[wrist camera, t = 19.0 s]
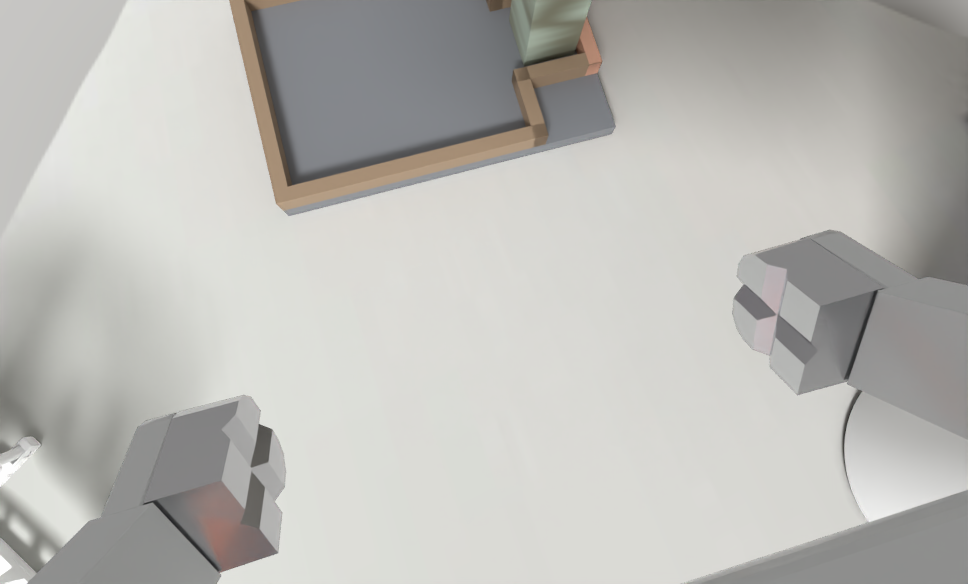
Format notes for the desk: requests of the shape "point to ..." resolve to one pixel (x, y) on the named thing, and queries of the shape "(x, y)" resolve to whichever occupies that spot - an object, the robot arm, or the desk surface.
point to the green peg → (547, 27)
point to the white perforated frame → (3, 569)
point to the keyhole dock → (403, 93)
